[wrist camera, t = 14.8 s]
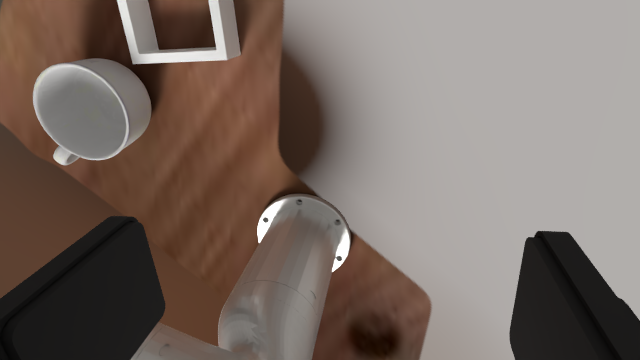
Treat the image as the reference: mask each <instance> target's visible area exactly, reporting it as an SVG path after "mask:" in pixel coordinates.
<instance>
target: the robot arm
mask: <svg viewBox="0 0 640 360" xmlns="http://www.w3.org/2000/svg"><path fill="white" fill-rule="evenodd" d="M299 199H300V200H302V201H300V200H299ZM337 219H338V220H337ZM257 235H258V241H259V245H258V247H257V248H256V250H255V252H254V254H253V255H252V257H251V259H250V261H249V262H248V264H247V266H246V268H245V269H244V271H243V273H242V275H241V276H240V278H239V280H238V282H237V283H236V285H235V287H234V289H233V291H232V292H231V294H230V296H229V298H228V300H227V301H226V303H225V305H224V307H223V309H222V313H221V316H220V319H219V327H218V340H219V347H218V346H213V345H211V344H208V343H206V342H204V341H201V340H199V339H197V338H194V337H192V336H189V335H187V334H185V333H182V332H180V331H178V330H175V329H173V328H171V327H168V326H166V325H163V324H161V323H158V322H159V320H160V319H161V317H162V316H163V314H164V311H165V301H164V297H163V294H162V290H161V286H160V283H159V279H158V276H157V273H156V269H155V266H154V262H153V258H152V255H151V252H150V248H149V244H148V241H147V237H146V234H145V230H144V227H143V225H142V224H141V223H139V222H138V220H137V219H136V218H134V217H127V216H111V217H109V218H107V219H106V220H104V221H103V222H102V223H100V224H99V225H98V226H96V227H95V228H94V229H92V230H91V231H90V232H88V233H87V234H86V235H84V236H83V237H82V238H80V239H79V240H78V241H76V242H75V243H74V244H72V245H71V246H70V247H68V248H67V249H66V250H64V251H63V252H62V253H60V254H59V255H58V256H56V257H55V258H54V259H52V260H51V261H50V262H49V263H47V264H46V265H45V266H43V267H42V268H40V269H39V270H38V271H37V272H35V273H34V274H32V275H31V276H30V277H28V278H27V279H26V280H24V281H23V282H22V283H20V284H19V285H18V286H16V287H15V288H14V289H13V290H11V291H10V292H8V293H7V294H6V295H5V296H3V297H2V298H1V299H0V360H312V355H313V350H314V346H315V341H316V337H317V333H318V329H319V325H320V320H321V316H322V312H323V308H324V304H325V299H326V295H327V291H328V287H329V283H330V278H331V274H332V272H333V271H334V270H336V269H337V268H339V267H340V266H341V265H342V263H343V262H344V261H345V259H346V257H347V256H348V252H349V249H350V244H351V233H350V230H349V226H348V224H347V222H346V220H345V218H344V217H343V215H342V214H341V213H340V211H339V210H338V209H337V208H335V207H334V206H333V205H332V204H330V203H329V202H327V201H326V200H324V199H321V198H319V197H317V196H313V195H309V194H290V195H286V196H283V197H280V198H278V199H277V200H275V201H273V202H272V203H271V204H270V205H269V206H268V207H267V208H266V209H265V211H264V212H263V214H262V215H261V217H260V220H259V223H258V229H257ZM510 344H511V348H512V351H513V354H514V357H515V360H640V321H639V319H638V318H637V316H636V315H635V314H634V313H633V311H632V310H631V309H630V308H629V306H628V305H627V304H626V303H625V302H624V301H623V300H622V299H620V298H618V297H617V296H616V295H615V294H614V292H613V291H612V289H611V288H610V287H609V285H608V284H607V283H606V281H605V280H604V279H603V277H602V276H601V275H600V274H599V272H598V271H597V269H596V268H595V267H594V266H593V264H592V263H591V261H590V260H589V259H588V257H587V256H586V255H585V254H584V252H583V251H582V249H581V248H580V247H579V245H578V244H577V242H576V241H575V240H574V238H573V237H572V236H571V235H570V234H569V233H568V232H551V231H538V232H537V233H536V235H535V237H528V238H527V239H526V242H525V247H524V252H523V258H522V264H521V269H520V275H519V281H518V287H517V292H516V298H515V304H514V309H513V315H512V320H511V326H510Z"/></svg>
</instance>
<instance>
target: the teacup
mask: <svg viewBox="0 0 640 360" xmlns="http://www.w3.org/2000/svg"><path fill="white" fill-rule="evenodd" d="M33 104H34V108H35V112H36V115H37V117H38V119H39V121H40V123H41V125H42V127H43V128H44V129H45V131H46V132H47V133H48V135H49V136H50V137H51V138H52V139H53V140H54V141H55V142H56V143H57V144H59V147H58V148H57V149H56V150H55V152H54V156H53V157H54V159H55V160H56V161H57V162H58V163H60V164H62V165H68V164H71V163H73V162H74V161H76V160H77V159H78V158H79V157H82V158H85V159H89V160H104V159H108V158H111V157H113V156H115V155H116V154H118V153H119V152H120V151H121V150H122V149H124V148H125V147H127V146H128V145H129V144H131V143H132V142H134V141H135V140H136V139H137V138H139V137H140V136H141V135H142V134H143V132H144V131H145V130H146V128H147V126H148V124H149V122H150V118H151V101H150V98H149V95H148V92H147V90H146V88H145V86H144V85H143V83H142V82H141V80H140V79H139V78H138V77H137V76H136V75H135V74H134V73H133V72H132V71H131V70H130V69H128V68H127V67H125V66H123V65H122V64H120V63H117V62H115V61H112V60H108V59H100V58H93V59H85V60H79V61H74V62H70V63H60V64H56V65H53V66H51V67H48V68H47V69H46V70H44V71H43V72H42V73H41V74H40V76H39V77H38V78H37V80H36V83H35V85H34V92H33Z"/></svg>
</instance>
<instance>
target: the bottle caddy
mask: <svg viewBox="0 0 640 360" xmlns="http://www.w3.org/2000/svg"><path fill="white" fill-rule="evenodd" d="M117 2H118V6H119V10H120V14H121V18H122V22H123V26H124V31H125V35H126V39H127V43H128V47H129V51H130V55H131V59H132V63H133V64H147V63H169V62H191V61H213V60H228V59H231V58H234V57H237V56H240V55H241V52H240V45H239V38H238V31H237V23H236V16H235V9H234V2H233V0H209V6H210V12H211V18H212V25H213V31H214V37H215V43H216V47H208V48H188V49H169V50H159V48H158V44H157V39H156V35H155V30H154V25H153V21H152V16H151V12H150V7H149V3H148V0H117Z"/></svg>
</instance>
